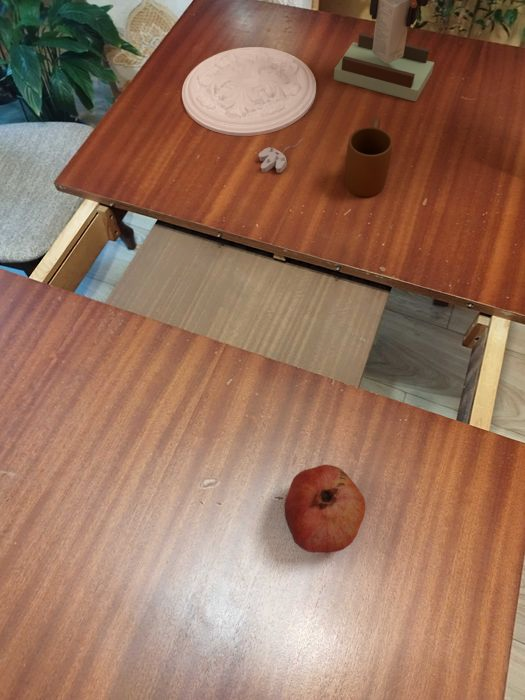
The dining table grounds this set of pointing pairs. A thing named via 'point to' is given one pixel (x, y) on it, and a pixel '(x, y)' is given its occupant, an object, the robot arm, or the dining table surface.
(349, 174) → the mug
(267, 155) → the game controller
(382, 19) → the box
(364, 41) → the green base with ridges
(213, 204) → the dining table surface
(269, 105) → the ceiling medallion
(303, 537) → the fruit
